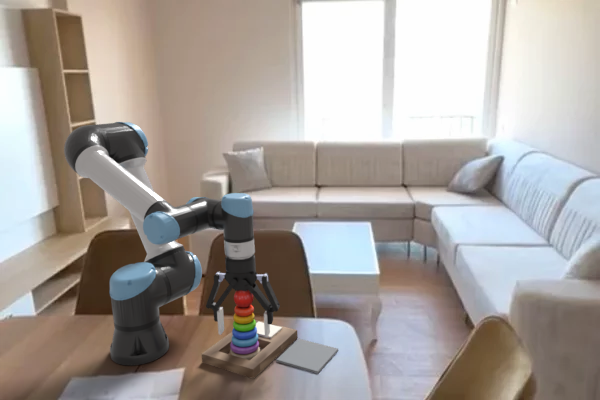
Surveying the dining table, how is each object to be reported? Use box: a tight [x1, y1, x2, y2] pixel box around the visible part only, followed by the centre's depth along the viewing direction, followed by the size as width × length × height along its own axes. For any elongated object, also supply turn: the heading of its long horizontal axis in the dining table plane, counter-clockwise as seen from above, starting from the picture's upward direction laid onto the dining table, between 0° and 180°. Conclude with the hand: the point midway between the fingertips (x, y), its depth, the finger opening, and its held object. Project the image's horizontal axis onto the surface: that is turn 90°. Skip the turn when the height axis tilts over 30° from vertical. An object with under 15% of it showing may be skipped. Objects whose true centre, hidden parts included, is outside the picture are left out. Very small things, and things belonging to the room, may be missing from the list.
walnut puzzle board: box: [201, 319, 299, 379], centre depth 133 cm, size 16×22×3 cm
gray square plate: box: [275, 338, 339, 374], centre depth 130 cm, size 12×12×1 cm
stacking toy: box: [229, 290, 261, 360], centre depth 129 cm, size 8×8×19 cm
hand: (244, 333), depth 130 cm, fingers open, 12 cm apart
